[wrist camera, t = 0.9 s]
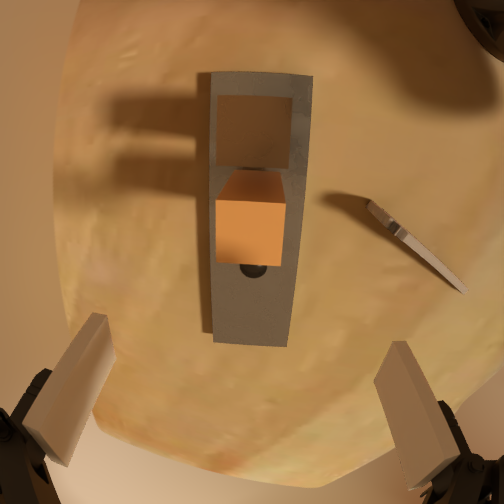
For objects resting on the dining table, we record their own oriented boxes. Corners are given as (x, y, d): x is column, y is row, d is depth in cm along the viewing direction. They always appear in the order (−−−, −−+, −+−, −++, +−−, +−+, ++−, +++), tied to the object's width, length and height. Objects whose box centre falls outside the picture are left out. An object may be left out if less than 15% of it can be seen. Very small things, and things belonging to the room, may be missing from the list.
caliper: (363, 205, 30) (383, 227, 24) (369, 197, 29) (390, 217, 24) (462, 292, 34) (484, 319, 28) (467, 287, 33) (490, 313, 28)
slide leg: (279, 170, 27) (285, 203, 17) (277, 212, 28) (280, 266, 19) (235, 168, 27) (215, 200, 17) (234, 210, 29) (216, 262, 19)
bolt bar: (310, 78, 25) (340, 52, 13) (286, 338, 37) (289, 421, 26) (214, 74, 25) (174, 47, 13) (215, 334, 38) (196, 414, 26)
